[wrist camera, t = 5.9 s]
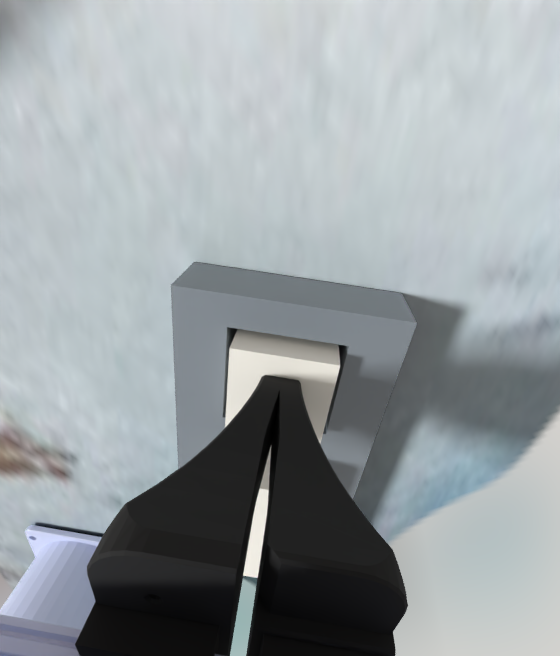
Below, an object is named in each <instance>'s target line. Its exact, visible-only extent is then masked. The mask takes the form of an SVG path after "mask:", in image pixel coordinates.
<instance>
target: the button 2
mask: <svg viewBox="0 0 560 656" xmlns="http://www.w3.org/2000/svg"><path fill="white" fill-rule="evenodd" d="M339 369H340V356H339V345H338V344H332V343H326V342H319V341H313V340H307V339H300V338H294V337H287V336H281V335H275V334H268V333H262V332H255V331H249V330H242V329H237V332H236V334H235V336H234V339H233V341H232V343H231V346H230V348H229V365H228V383H227V401H226V419H225V427H226V426H227V425H228V424H229V423H230V422H231V420H232V419H233V418H234V417H235V416H236V415H237V414H238V412H239V411H240V410H241V408H242V407H243V406H244V404H245V403H246V402H247V400H248V399H249V398H250V396H251V395H252V393H253V392H254V390H255V389H256V387H257V385H258V383H259V382H260V380H261V377H262V376H264V375H269V376H275V377H282V378H288V379H294V380H299V382H300V383H301V389H302V394H303V398H304V402H305V406H306V409H307V412H308V415H309V418H310V420H311V423H312V426H313V429H314V431H315V433H316V436H317V438H318V440H319V443H321V439H322V436H323V432H324V428H325V424H326V420H327V416H328V412H329V408H330V404H331V400H332V396H333V392H334V389H335V385H336V381H337V377H338V373H339Z"/></svg>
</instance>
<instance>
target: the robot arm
mask: <svg viewBox="0 0 560 656" xmlns="http://www.w3.org/2000/svg"><path fill="white" fill-rule="evenodd" d="M270 447H271V458H270V475H269V493H268V507H267V517H266V524H265V531H264V538H263V545H262V552H261V559H260V566H259V573H258V579H257V586H256V593H255V600H254V607H253V614H252V621H251V628H250V635H249V641H248V648H247V655H246V656H395V644H394V637H393V630H394V629H395V628H396V626H397V625H398V623H399V622H400V620H401V619H402V617H403V616H404V614H405V612H406V609H407V606H408V604H407V599H406V598H407V597H406V591H405V587H404V583H403V579H402V576H401V573H400V569H399V566H398V564H397V561H396V558H395V555H394V552H393V550H392V549H391V547H390V546H389V545H388V544H387V543H386V542H385V540H384V539H383V538H382V537H381V536H380V535H379V533H378V532H377V531H376V530H375V529H374V527H373V526H372V525H371V524H370V522H369V521H368V520H367V518H366V517H365V516H364V515H363V513H362V512H361V511H360V509H359V508H358V507H357V505H356V504H355V502H354V501H353V499H352V498H351V496H350V495H349V493H348V492H347V490H346V489H345V487H344V486H343V484H342V483H341V481H340V480H339V478H338V476H337V475H336V473H335V471H334V470H333V468H332V466H331V464H330V463H329V461H328V459H327V457H326V455H325V453H324V451H323V449H322V447H321V445H320V443H319V440H318V438H317V436H316V433H315V431H314V429H313V426H312V423H311V420H310V418H309V415H308V412H307V409H306V406H305V402H304V398H303V394H302V389H301V383H300V382H299V380H294V379H288V378H282V377H275V376H269V375H264V376H262V377H261V380H260V382H259V383H258V385H257V387H256V389H255V390H254V392H253V393H252V395H251V396H250V398H249V399H248V400H247V402H246V403H245V404H244V406H243V407H242V408H241V410H240V411H239V412H238V414H237V415H236V416H235V417H234V418H233V419H232V420H231V422H230V423H229V424H228V425H227V426H226V427H225V428H224V429H223V430H222V431H221V433H220V434H219V435H218V436H217V437H216V438H215V439H213V440H212V441H211V442H210V443H209V444H208V445H207V446H206V447H205V448H204V449H203V450H201V451H200V452H199V453H198V454H197V455H196V456H195V457H193V458H192V459H191V460H190V461H188V462H187V463H186V464H185V465H183V466H182V467H181V468H179V469H178V470H176V471H175V472H174V473H172V474H171V475H170V476H168V477H167V478H165V479H164V480H163V481H161V482H160V483H158V484H157V485H155V486H154V487H152V488H150V489H149V490H147V491H145V492H144V493H142V494H141V495H139V496H137V497H136V498H134V499H132V500H131V501H129V502H127V503H126V504H125V505H124V506H123V508H122V509H121V510H120V512H119V513H118V514H117V516H116V517H115V518H114V520H113V521H112V523H111V524H110V526H109V527H108V528H107V530H106V532H105V533H104V535H103V536H102V537H98V536H92V535H87V534H81V533H75V532H70V531H64V530H58V529H52V528H47V527H41V526H35V525H30V526H28V527H27V529H26V530H25V534H26V537H27V539H28V541H29V544H30V546H31V548H32V550H33V553H34V555H35V557H36V558H35V559H34V560H33V562H32V563H31V565H30V566H29V568H28V569H27V571H26V572H25V574H24V575H23V577H22V578H21V580H20V581H19V583H18V584H17V586H16V587H15V589H14V590H13V592H12V593H11V595H10V596H9V598H8V599H7V600H6V602H5V604H4V605H3V606H2V608H1V610H0V656H230V651H231V645H232V639H233V632H234V627H235V621H236V615H237V609H238V603H239V597H240V591H241V585H242V579H243V573H244V567H245V561H246V556H247V550H248V544H249V538H250V532H251V526H252V520H253V515H254V510H255V505H256V501H257V497H258V493H259V489H260V485H261V482H262V478H263V474H264V470H265V466H266V463H267V459H268V455H269V451H270Z"/></svg>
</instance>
